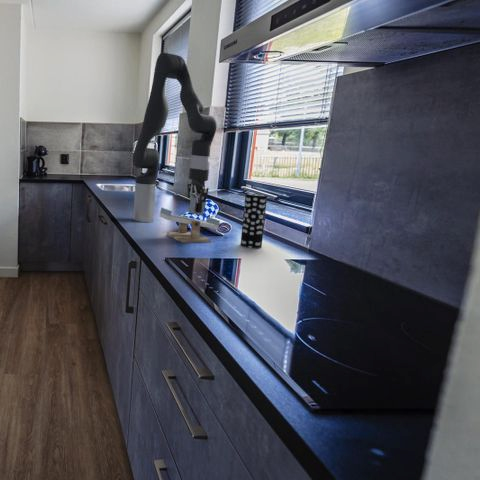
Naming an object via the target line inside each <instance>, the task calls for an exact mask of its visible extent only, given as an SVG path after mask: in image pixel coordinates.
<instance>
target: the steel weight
mask: <svg viewBox="0 0 480 480" xmlns="http://www.w3.org/2000/svg"><path fill="white" fill-rule="evenodd" d="M189 201H190V200H189ZM196 203H197V199H196V198H193V197H191V201H190V203H189V205H188V210H187V213H190V214H193V215H197V216H202V217H203V216H204V212H205V208H206V203H207V201H206V202H203V203H202V212H201V213H197V212H196Z"/></svg>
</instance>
